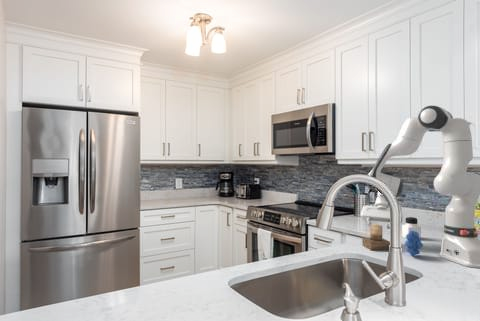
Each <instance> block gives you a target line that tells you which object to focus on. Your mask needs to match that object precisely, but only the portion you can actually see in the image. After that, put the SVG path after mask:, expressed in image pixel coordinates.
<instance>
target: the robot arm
mask: <svg viewBox="0 0 480 321" xmlns="http://www.w3.org/2000/svg"><path fill="white" fill-rule="evenodd" d="M427 132H441V134H442V145H443V146H442V147H443V149H442V150H443V160H442V166H441V169H440V171H439V173H438V174H437V175H436V177H434V179H433V188H434V189H435V191H436V192H437V193H438V194H440V195H443V196H446V197H447V196H448V197H452V198H451V200H450V202H449V203H448V204H447V206H446V207H445V210H444V211H445V213H444V216H445V217H444V225H443V232H444V235H443V238H442V240H441V249H440V253H439V254H438V258H442V259H444V260H447V261H450V262H453V263H457V264H459V265H462V266H465V267H470V268H479V269H480V239H479V235H480V231H479V230H477V229H476V226H475V224H476V223H475V222H476V221H475V220H476V218H475V216H476V207H477V204H478V201H479V198H480V174H477V173H475V172H471V171H467V170H468V166H469V163H470V162H471V161H472V160H473V158H474V153H473V150H474V149H473V139H472V132H471V127H470V124H469V122H468V120H466V119H464V118H461V117H455V118H454V117H453V115H452V113H450V112H449V111H447V110H446V109H445V108H443V107H440V106H438V105H427V106H425V107H423V108H422V109H420V111H419V113H418V117H416V116H411V117H408V118H407V119H405V121H404V122H403V124H402V126H401V128H400V130H399V132H398V135H397V138H396V139H394V141H393V142H392V143H388V144H387V145H386V146H385V148H384V149H383V150H382V152H381V154H380V155H379V157H378V159H377V161H376V162H375V163H374V166H373V167H372V169H371V170H370V172H368V174H367V175H369V176H372V177H375V178H377V179H379V180H381V181H382V182H384V183H385V184H386V185H387V186H388V187H389V188H390V189H391V190H392V192H393V193H394V195H395V197H396V198H395V199H397V198H398V197H400V196H401V194H402V193H403V189H404V181H403V180H402V179H401V178H400V177H396V176H393V175H390V174H386V173H383V172H381V171H382V169H383V167H384V166H385V164H386V163H387V161H388V160H389V159H391V158H393V157H404V156H410V155H412V154H415V153H416V152H417V151H418V149H419V147H420V146H421V143H422V140H423V137H424V136H425V134H426V133H427ZM366 187H367V188H368V190H369V189H370V190H374V191H377V197H376V198H375V202H374V204H365V205H363V206H362V210H361V212H360V218H361V219H362V220H365V221H367V227H370V225H373V224H372V222H371V221H373V222H374V221H375V222H383V223H387V224H386V229H387V230H388V229H389V230H391V229H390V223H391V222H390V210H389V206H388V203H387V201H386V199H385V197H384V196H383V194H381V193H380V192H379V191H378V190H377V189H376V188H374V187H372V186H369V185H366ZM398 203H399V202H398ZM399 206H400V213H401V223H400V224H402V223H403V221H404V219H403V218H404V216H403V215H404V214H403V209H402V205H401V203H399Z"/></svg>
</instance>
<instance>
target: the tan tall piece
mask: <svg viewBox="0 0 480 321" xmlns="http://www.w3.org/2000/svg"><path fill="white" fill-rule="evenodd" d="M369 228H370V229H369V232H370V234H369V238H370V240H373V241H382V238H383V225H379V224H372V225H370V226H369Z"/></svg>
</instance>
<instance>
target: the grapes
mask: <svg viewBox="0 0 480 321" xmlns="http://www.w3.org/2000/svg"><path fill="white" fill-rule="evenodd" d="M418 236H419V234H418V233H417V232H416V231H413V230H411V231H409V234H407V235H406V238H407V239H406V238H405V239H406V241H404V244H405V246H406V248H405V249H406V251H407V253H408V254H410V256H411V257H415V256H417V255H419V254H420V253H421V252H420V250H421V249H422V247H423V246H424V244H423V243H422V237H421V238H420V237H418Z"/></svg>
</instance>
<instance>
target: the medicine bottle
mask: <svg viewBox="0 0 480 321" xmlns="http://www.w3.org/2000/svg"><path fill="white" fill-rule="evenodd" d="M401 226H402V227H401V228H402V230H401V231H402V232H401V234H402V235H401V236H402V237H403V238H405V239H406V240H407V238H406V235H407V234H409V231H411V230H413V231H416V232H417V233H418V234H419V236H418V237H420V238H421V239H422V228H421V226H418V218H416V217H413V216H407V217H405V224H402V225H401Z"/></svg>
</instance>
